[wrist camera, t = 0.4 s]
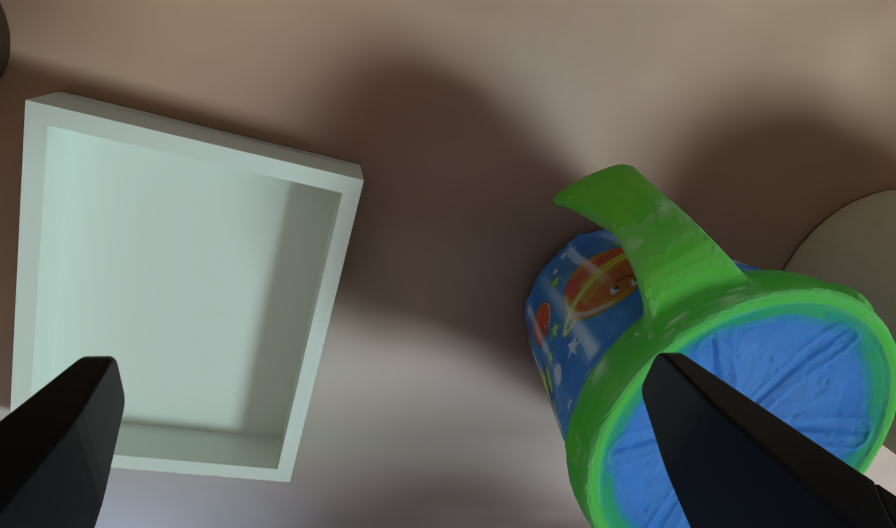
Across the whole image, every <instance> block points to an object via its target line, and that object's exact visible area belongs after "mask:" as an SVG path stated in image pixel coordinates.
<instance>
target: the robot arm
mask: <svg viewBox="0 0 896 528" xmlns="http://www.w3.org/2000/svg"><path fill="white" fill-rule="evenodd" d="M642 397H643V400H644V403H645V407H646V410H647V413H648V416H649V419H650V422H651V425H652V429H653V432H654V435H655V438H656V441H657V444H658V447H659V451H660V454H661V457H662V460H663V463H664V466H665V469H666V471H667V474H668V477H669V479H670V481H671V484H672V486H673V489H674V491H675V493H676V496H677V498H678V500H679V503H680V505H681V507H682V509H683V512H684V514H685V516H686V519H687V521H688V523H689V526H690V528H896V496H895V495H893V494H892V493H890V492H889V491H887V490H886V489H884V488H883V487H881V486H880V485H875V484H874V482H873V481H872V480H871V479H869V478H868V477H866V476H865V475H863V474H862V473H860V472H859V471H857V470H856V469H854V468H853V467H851V466H850V465H848V464H847V463H845V462H844V461H842V460H841V459H839V458H838V457H836V456H835V455H833V454H832V453H830V452H829V451H827V450H826V449H824V448H823V447H821V446H820V445H818V444H817V443H815V442H814V441H812V440H811V439H809V438H808V437H806V436H805V435H803V434H802V433H800V432H799V431H797V430H796V429H794V428H793V427H791V426H790V425H788V424H787V423H785V422H784V421H782V420H781V419H779V418H778V417H776V416H775V415H773V414H772V413H770V412H769V411H767V410H766V409H764V408H763V407H761V406H760V405H759V404H757V403H756V402H754V401H753V400H751V399H750V398H748V397H747V396H745V395H744V394H742V393H741V392H739V391H738V390H736V389H735V388H733V387H732V386H730V385H729V384H727V383H726V382H724V381H723V380H721V379H720V378H718V377H717V376H715V375H714V374H712V373H711V372H709V371H708V370H706V369H705V368H703V367H702V366H700V365H699V364H697V363H696V362H694V361H693V360H691V359H690V358H688V357H687V356H685V355H684V354H682V353H677V352H672V353H659V354H658V355H657V356H656V357H655V359H654V361H653V363H652V365H651V367H650V369H649V371H648V373H647V375H646V377H645V380H644V382H643V385H642ZM124 405H125V395H124V390H123V386H122V381H121V377H120V372H119V368H118V364H117V361H116V359H115V358H114V357H112V356H84V357H82V358H80V359H78V360H77V361H76V362H74V363H73V364H72V365H71V366H69V367H68V368H67V369H66V370H64V371H63V372H62V373H61V374H59V375H58V376H57V377H55V378H54V379H53V380H52V381H50V382H49V383H48V384H47V385H45V386H44V387H43V388H42V389H40V390H39V391H38V392H36V393H35V394H34V395H33V396H31V397H30V398H29V399H28V400H26V401H25V402H24V403H23V404H21V405H20V406H19V407H17V408H16V409H15V410H14V411H12V412H11V413H10V414H9V415H7V416H6V417H5V418H3V419H2V420H1V421H0V528H94V527H95V524H96V522H97V519H98V515H99V512H100V509H101V506H102V502H103V498H104V494H105V490H106V486H107V482H108V477H109V473H110V468H111V464H112V460H113V455H114V451H115V447H116V442H117V438H118V433H119V429H120V425H121V420H122V416H123V411H124Z"/></svg>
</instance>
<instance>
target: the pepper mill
mask: <svg viewBox="0 0 896 528" xmlns="http://www.w3.org/2000/svg"><path fill="white" fill-rule="evenodd" d="M9 54H10V33H9V27H8V23H7V19H6V16H5V13H4V11H3V9H2V6H1V4H0V78H1V76H2V75H3V73H4V71H5V68H6V66H7V63H8V59H9Z"/></svg>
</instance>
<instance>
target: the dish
mask: <svg viewBox="0 0 896 528" xmlns="http://www.w3.org/2000/svg"><path fill="white" fill-rule="evenodd" d="M363 182H364V179H363V175H362V171H361V167H360V164H356V163H352V162H348V161H344V160H340V159H336V158H331V157H327V156H323V155H319V154H315V153H311V152H307V151H303V150H299V149H295V148H291V147H287V146H283V145H278V144H274V143H270V142H266V141H262V140H258V139H254V138H250V137H246V136H242V135H238V134H234V133H230V132H226V131H221V130H217V129H213V128H209V127H205V126H201V125H197V124H193V123H189V122H185V121H181V120H177V119H173V118H168V117H164V116H160V115H156V114H152V113H148V112H144V111H140V110H136V109H132V108H128V107H124V106H120V105H115V104H111V103H107V102H103V101H99V100H95V99H91V98H87V97H83V96H79V95H75V94H71V93H67V92H63V91H60V92H56V93H52V94H48V95H43V96H39V97H35V98H31V99H26V100H25V120H24V140H23V161H22V182H21V202H20V223H19V243H18V264H17V284H16V305H15V325H14V346H13V366H12V387H11V407H10V413H11V412H12V411H14V410H15V409H16V408H17V407H19V406H20V405H21V404H23V403H24V402H25V401H26V400H28V399H29V398H30V397H31V396H33V395H34V394H35V393H36V392H38V391H39V390H40V389H42V388H43V387H44V386H45V385H47V384H48V383H49V382H50V381H52V380H53V379H54V378H55V377H57V376H58V375H59V374H61V373H62V372H63V371H64V370H66V369H67V368H68V367H69V366H71V365H72V364H73V363H74V362H76V361H77V360H78V359H80V358H82V357H84V356H112V357H114V358H115V359H116V361H117V364H118V368H119V372H120V377H121V381H122V386H123V390H124V395H125V405H124V411H123V416H122V420H121V425H120V429H119V433H118V438H117V442H116V447H115V451H114V455H113V460H112V464H111V468H123V469H135V470H147V471H159V472H172V473H184V474H196V475H208V476H220V477H232V478H244V479H256V480H268V481H280V482H290V480H291V476H292V472H293V468H294V464H295V460H296V455H297V451H298V447H299V443H300V439H301V435H302V431H303V427H304V423H305V419H306V415H307V411H308V406H309V402H310V398H311V394H312V390H313V386H314V382H315V378H316V374H317V370H318V366H319V362H320V357H321V353H322V349H323V345H324V341H325V337H326V333H327V329H328V325H329V321H330V317H331V313H332V308H333V304H334V300H335V296H336V292H337V288H338V284H339V280H340V276H341V272H342V268H343V264H344V260H345V255H346V251H347V247H348V243H349V239H350V235H351V231H352V227H353V223H354V219H355V215H356V211H357V206H358V202H359V198H360V194H361V190H362V186H363Z"/></svg>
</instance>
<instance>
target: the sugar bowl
mask: <svg viewBox="0 0 896 528" xmlns="http://www.w3.org/2000/svg"><path fill="white" fill-rule="evenodd" d="M784 271H786V272H791V273H796V274H803V275H806V276H809V277H813V278H816V279H818V280H820V281H823V282H829V283H835V284H840V285H844V286H847V287H850V288H852V289H854V290H856V291H857V292H859V293H860V294H862V295H863V296H864V297H865V298H866V299H867V300H868V302H869V303H870V304H871V305H872V307H873V310H874V312H875V313H876V314H877V315H878V316H879V317H880V319H881V320H882V321H883V322H884V324H885V325H886V326H887V328H888V329H889V331H890V334H891V336H892V338H893V339H894V342H895V344H896V190H886V191H882V192H878V193H875V194H872V195H869V196H866V197H864V198H861V199H858V200H856V201H854V202H852V203H851V204H849V205H847V206H845V207H843V208H842V209H840V210H839V211H837V212H836V213H834V214H833V215H832V216H830V217H829V218H827V219H826V220H825V221H824V222H823V223H821V224H820V225H819V226H818V227H817V228H816V229H815V230H814V231H813V232H812V233H811V234H810V235H809V236H808V237H807V238H806V239H805V241H804V242H803V243H802V244H801V245H800V246H799V247H798V249H797V250H796V252H795V253H794V255H793V256H792V258H791V259H790V261H789V262H788V264H787V265H786V267H785V269H784ZM882 445H884V446H885V447H886V448H888V449H889V450H891V451H892V452H893V453H895V454H896V411H895V415H894V419H893V421H892V424H891V426H890V428H889V431H888V433H887V435H886V437H885V439H884V442H883V444H882Z"/></svg>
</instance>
